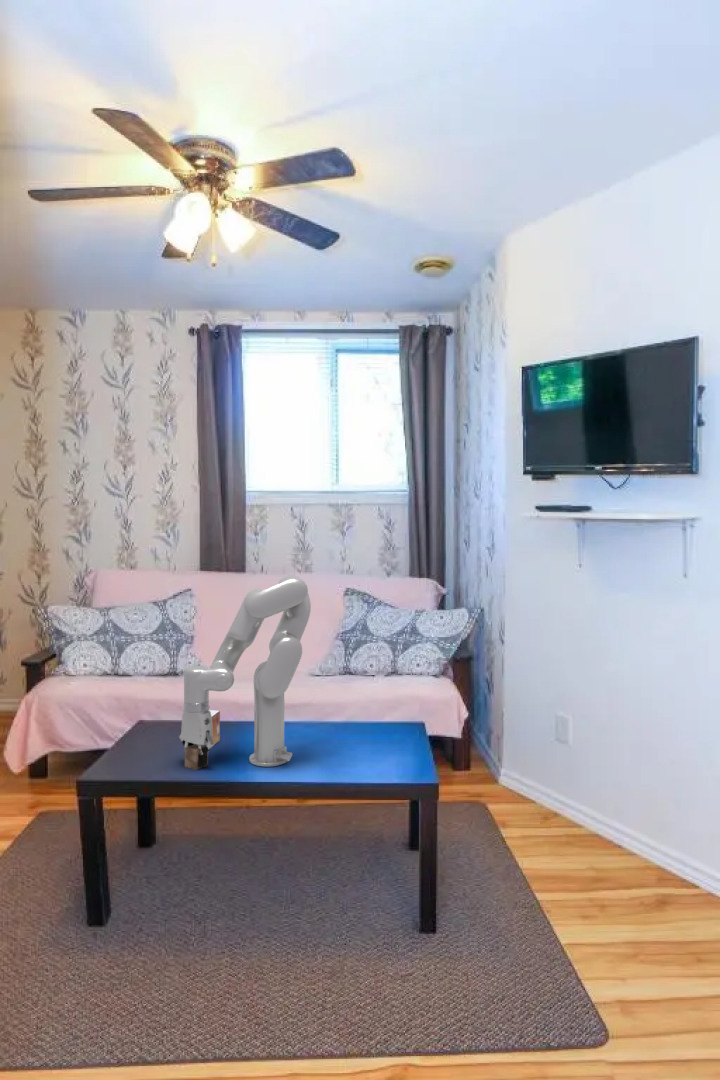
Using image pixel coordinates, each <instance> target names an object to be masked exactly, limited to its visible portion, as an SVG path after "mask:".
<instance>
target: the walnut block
mask: <svg viewBox="0 0 720 1080" xmlns="http://www.w3.org/2000/svg"><path fill="white" fill-rule="evenodd" d="M202 748H203V749H204V745H203V746H202ZM199 754H200V753H199V747H198V745H197V744H194V745H191V746H188V747H185V750H184V768H187V767H188V769H190V768H191V770H193V769H194V771H197V769H198V770H200V769H202V767H198V755H199ZM207 765H208V766H209V752H208V753H207ZM207 765H206V766H203V768H204V767H207Z"/></svg>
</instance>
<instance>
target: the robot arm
mask: <svg viewBox="0 0 720 1080" xmlns="http://www.w3.org/2000/svg"><path fill="white" fill-rule="evenodd" d="M308 591H309V588H308V585H307V584H306V582H305V581H304V580H303V579H302V578H300V577H298V576H296V575H295V574H293V575H292V574H287V575H285V576H282V577H281V579H279V581H278V583H277V584H275V585H272V586H270V587H267V588H265V589H260V588H259V589H258V588H255V589H252V590H250V591H249V592H247V594H246V595H245V597H244V598H243V600H242V603H241V605H240V606H239V609H238V611H237V612H236V615H235V617H234V619H233V621H232V623H231V625H230V627H229V629H228V631H227V633H226V635H225V637H224V640H223V641H222V642H221V644H220V646H219V648H218V650H217V652H216V654H215V656H214V658H213V661H212V663H211V665H210V666H209V668H207V667H206V666H204V665H190V666H188V667H186V668H185V669H184V672H183V712H182V718H181V729H180V731H181V733H180V735H179V736H178V738H179V740H180V741H181V743H182V745H183V747H184V748H183V749H184V751H185V747H188V746H191V745H194V744H197V745H198V747H199V753H200V754H199V755H198V767H203V766H205V767H207V766H206V765H207V753H208V754H209V752H210V751H211V749H212V748H214V746H215V744H214V743H213V724H212V717H211V712H210V711H209V710H210V691H211V692H212V691H213V692H226V691H228V690H230V689H231V688H232V687H233V685H234V682H235V675H234V671H235V668H236V666H237V665H238V663H239V660H240V658H241V657H242V655H243V653H244V652H245V651H246V649H248V648H249V647H250V646H252V644H253V643H254V641H255V639H256V637H257V634H258V632H259V630H260V628H261V627H262V624H263V622H264V621H265V619H267V618H269V617H272V616H274V615H275V616H276V615H277V614H279V613H282V615H281V618H280V619H279V622H278V625H277V626H276V628H275V631H274V633H273V635H272V637H271V639H270V641H269V644H268V646H269V647H268V649H269V652H270V653H269V655H268V657H267V660H266V661H263V662H261V663H259V664H258V665H257V667H256V669H255V670H254V673H253V692H254V694H253V695H254V697H253V698H254V710H253V711H254V714H253V716H254V720H253V721H254V723H253V725H254V728H253V731H254V732H253V733H254V736H253V737H254V738H253V739H254V741H253V742H254V747H253V749H254V750H253V751H254V752H253V753H252V754H250V755H249V758H248V759H249V760H248V761H249V762H250V763H251V764H252V765H253V766H258V767H264V768H265V767H267V768H268V767H277V766H281V765H284V764H286V763H288V762H289V761H290V760H291V758H292V757H293V752H289V751H287V746H285V693H286V691H287V690H288V688H289V686H290V685H291V682H292V680H293V678H294V675H295V673H296V671H297V669H298V667H299V664H300V662H301V659H302V655H303V645H302V643H301V640H302V637H303V635H304V633H305V630H306V627H307V624H308V622H309V620H310V614H311V606H312V605H311V604H312V603H311V599H310V594H309V592H308ZM203 745H204V749H203V748H202V746H203ZM203 768H204V767H203Z"/></svg>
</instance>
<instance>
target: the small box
mask: <svg viewBox="0 0 720 1080" xmlns="http://www.w3.org/2000/svg"><path fill="white" fill-rule="evenodd" d="M209 711H210V712H211V717H212V724H213V743H214V745H216V744H217V743H218V742H220V740H221V737H220V736H221V731H220V730H221V726H220V725H221V711H220V710H216V709H215V710H214V709H213V710H212V709H209Z"/></svg>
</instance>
